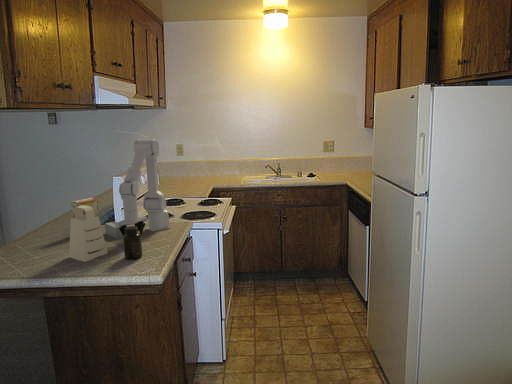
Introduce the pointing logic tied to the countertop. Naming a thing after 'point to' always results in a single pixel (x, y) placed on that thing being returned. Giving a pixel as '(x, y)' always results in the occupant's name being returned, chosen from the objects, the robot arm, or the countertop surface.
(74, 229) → the grater
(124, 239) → the supplement bottle
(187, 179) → the countertop surface
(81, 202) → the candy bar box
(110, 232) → the block
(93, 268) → the countertop surface
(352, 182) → the countertop surface
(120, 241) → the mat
